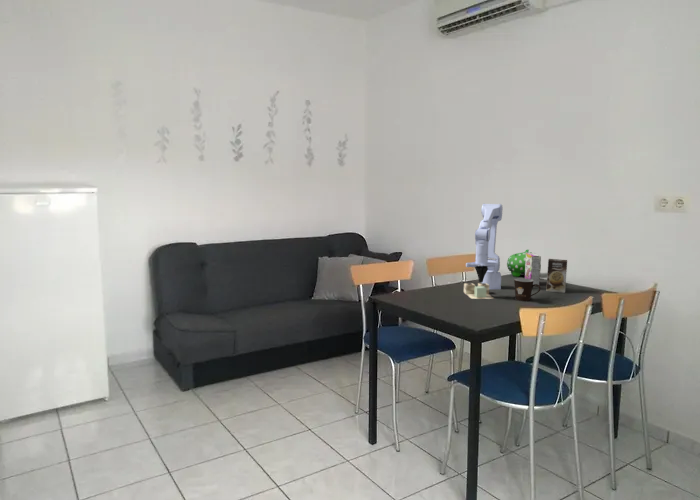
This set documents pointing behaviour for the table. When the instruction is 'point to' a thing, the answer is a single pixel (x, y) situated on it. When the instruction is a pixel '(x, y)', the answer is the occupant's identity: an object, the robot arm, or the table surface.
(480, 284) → the dotted cube
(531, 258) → the candy bar box
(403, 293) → the table surface
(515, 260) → the piggy bank
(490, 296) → the birch board
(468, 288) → the dotted cube
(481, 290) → the plain cube
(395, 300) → the table surface
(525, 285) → the coffee mug
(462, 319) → the table surface
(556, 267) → the coffee box
